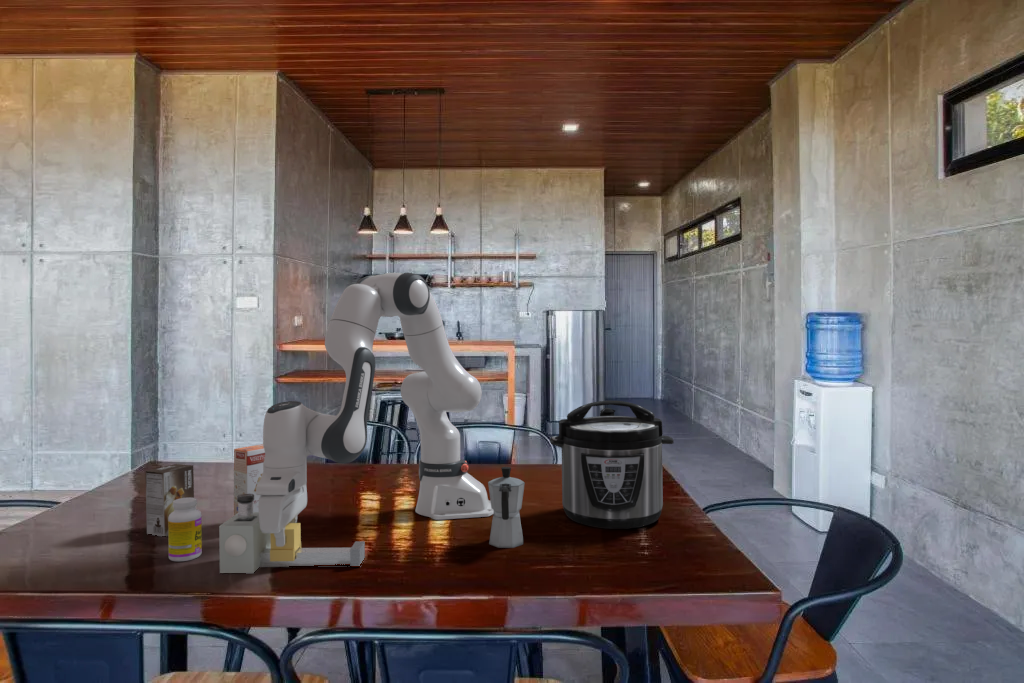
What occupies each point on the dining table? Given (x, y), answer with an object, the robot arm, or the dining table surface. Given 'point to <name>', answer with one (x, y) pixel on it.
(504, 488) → the coffee maker
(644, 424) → the pressure cooker
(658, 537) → the dining table surface
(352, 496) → the dining table surface
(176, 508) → the supplement bottle
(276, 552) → the rail carriage
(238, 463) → the cracker box
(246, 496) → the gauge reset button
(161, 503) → the coffee box
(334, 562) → the slide rail
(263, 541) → the cabinet
